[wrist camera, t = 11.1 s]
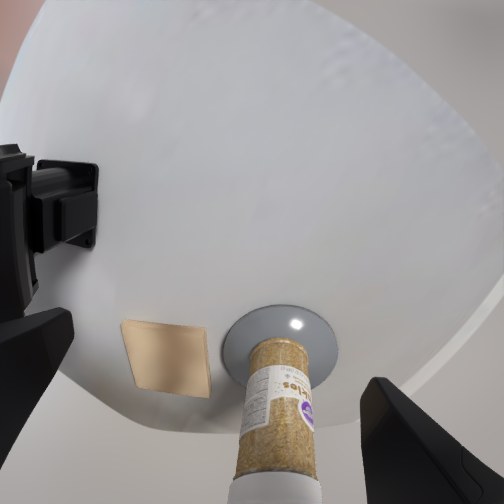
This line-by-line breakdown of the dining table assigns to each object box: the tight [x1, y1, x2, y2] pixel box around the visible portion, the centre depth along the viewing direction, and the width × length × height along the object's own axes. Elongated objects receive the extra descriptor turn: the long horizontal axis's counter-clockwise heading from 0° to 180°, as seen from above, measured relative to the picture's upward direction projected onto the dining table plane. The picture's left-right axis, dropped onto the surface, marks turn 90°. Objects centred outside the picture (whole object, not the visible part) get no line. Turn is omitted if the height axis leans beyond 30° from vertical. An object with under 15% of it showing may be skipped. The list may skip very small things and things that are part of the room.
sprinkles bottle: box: [228, 337, 322, 504], centre depth 16 cm, size 5×5×14 cm
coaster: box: [223, 305, 338, 389], centre depth 22 cm, size 9×9×1 cm
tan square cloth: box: [121, 320, 212, 398], centre depth 23 cm, size 7×7×1 cm
